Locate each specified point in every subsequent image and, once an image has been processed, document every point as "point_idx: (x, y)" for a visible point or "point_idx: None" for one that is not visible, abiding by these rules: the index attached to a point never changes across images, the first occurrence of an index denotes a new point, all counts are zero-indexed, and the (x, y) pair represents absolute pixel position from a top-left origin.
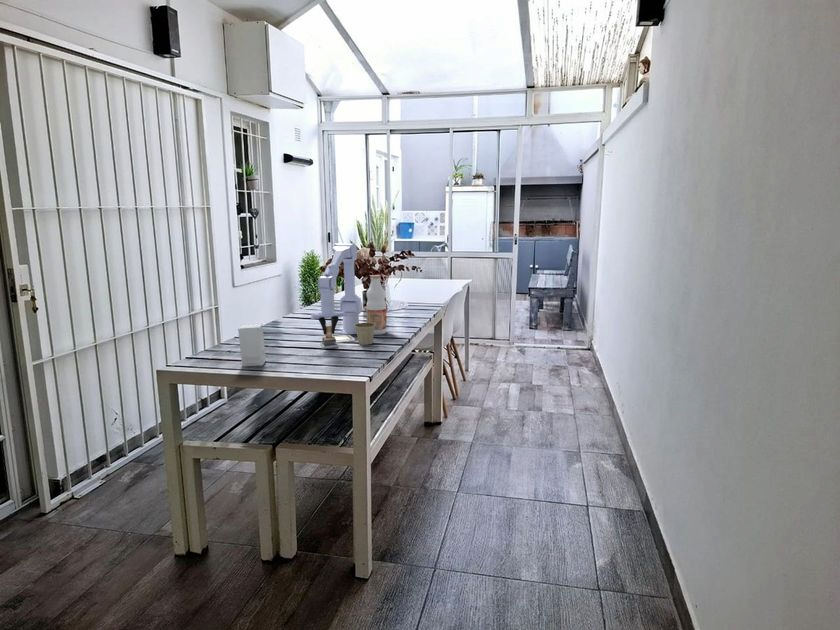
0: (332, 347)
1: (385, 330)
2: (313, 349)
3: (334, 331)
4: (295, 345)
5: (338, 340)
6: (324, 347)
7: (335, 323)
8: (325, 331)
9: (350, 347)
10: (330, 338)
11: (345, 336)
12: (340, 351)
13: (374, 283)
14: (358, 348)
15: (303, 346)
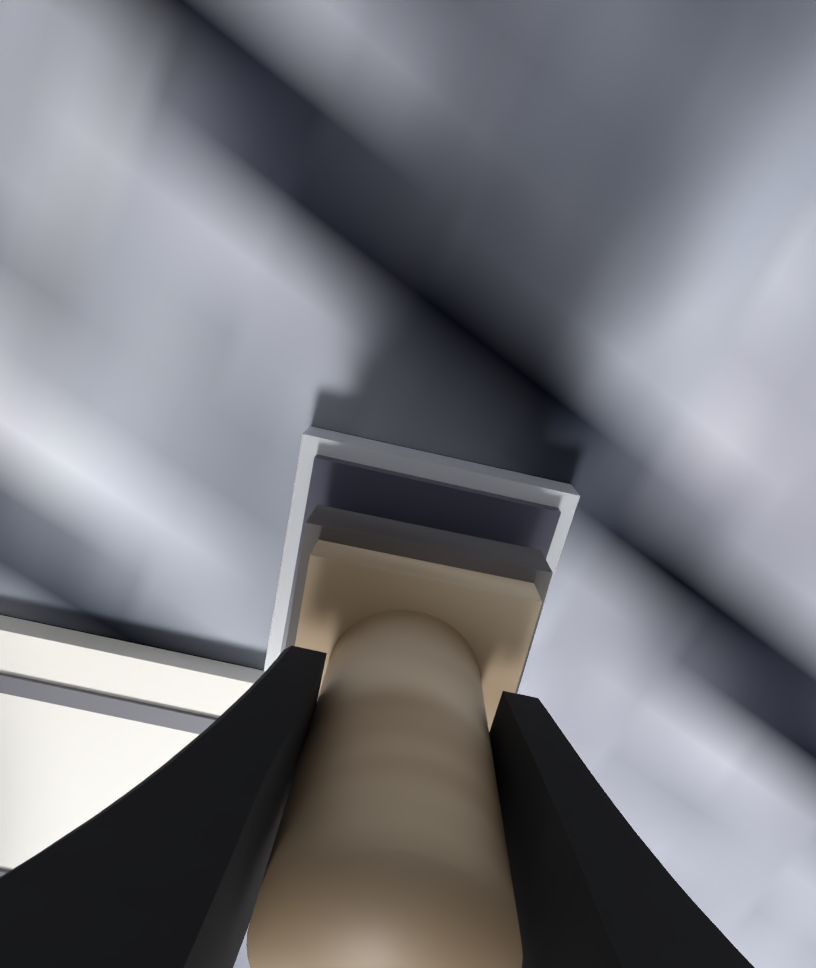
0: (417, 452)
1: None
2: (734, 533)
3: (264, 673)
4: (792, 871)
5: (181, 716)
6: (561, 485)
7: (78, 888)
8: (543, 746)
9: (133, 261)
10: (419, 573)
11: (8, 851)
12: (420, 77)
13: None
14: (13, 78)
15: (742, 771)
